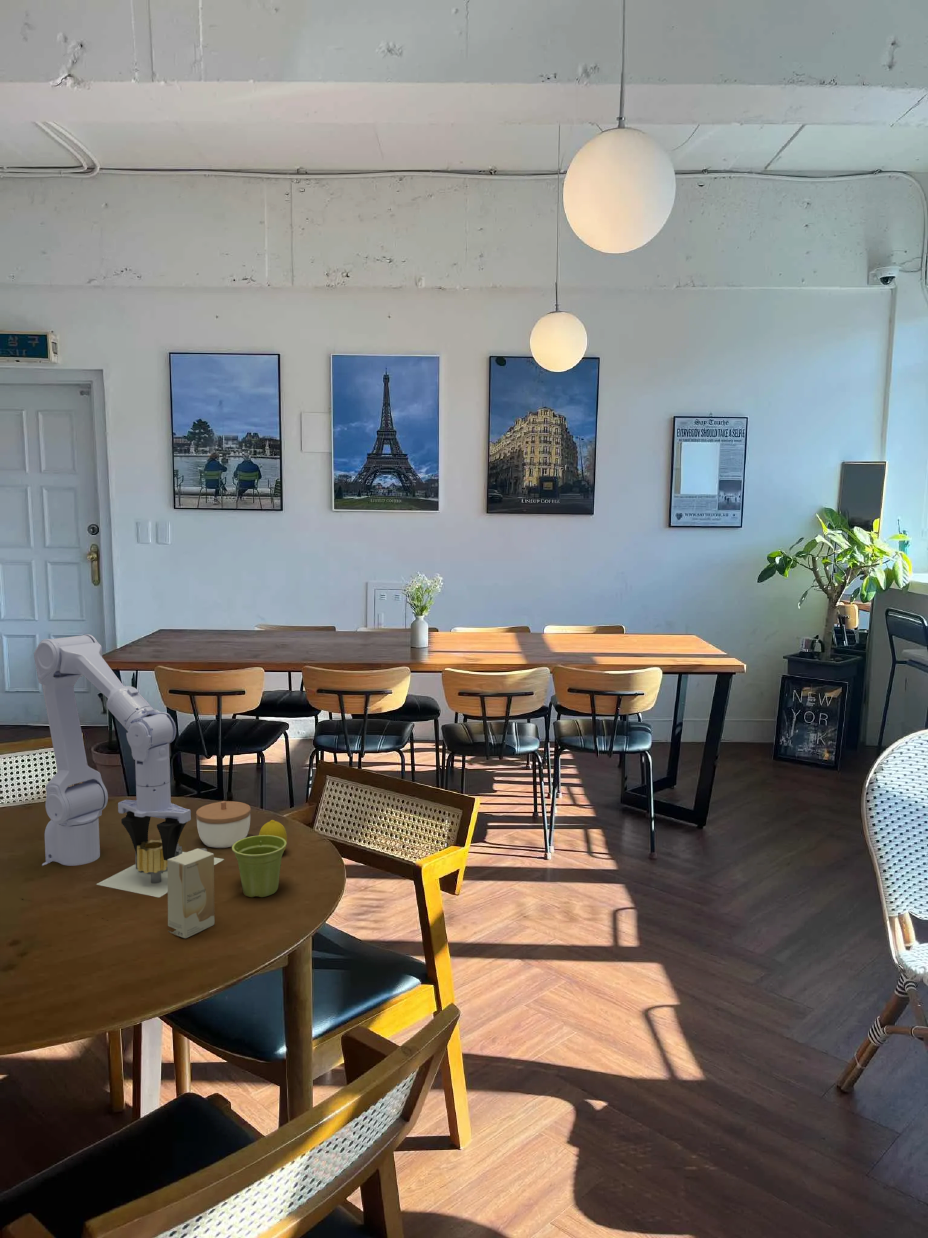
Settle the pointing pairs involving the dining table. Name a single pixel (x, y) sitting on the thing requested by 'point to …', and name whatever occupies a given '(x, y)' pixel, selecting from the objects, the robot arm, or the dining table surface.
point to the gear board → (142, 881)
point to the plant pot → (259, 863)
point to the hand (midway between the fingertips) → (155, 855)
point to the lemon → (274, 830)
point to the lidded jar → (223, 823)
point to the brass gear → (150, 856)
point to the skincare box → (191, 892)
